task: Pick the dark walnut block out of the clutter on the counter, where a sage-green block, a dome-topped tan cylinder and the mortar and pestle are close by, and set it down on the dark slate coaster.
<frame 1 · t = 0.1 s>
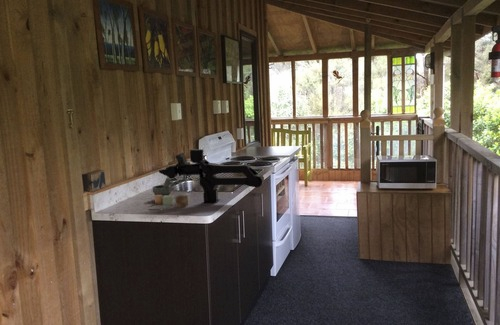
hand: (162, 170, 232), 17 cm above the countertop, tool horizontal, fingers open, 9 cm apart
mortar and pestle: (163, 199, 240), on the countertop
walnut block: (182, 206, 222), on the countertop
sage block: (168, 204, 228), on the countertop
dome-topped tan cylinder: (159, 204, 229), on the countertop
slate coaster: (159, 207, 220), on the countertop
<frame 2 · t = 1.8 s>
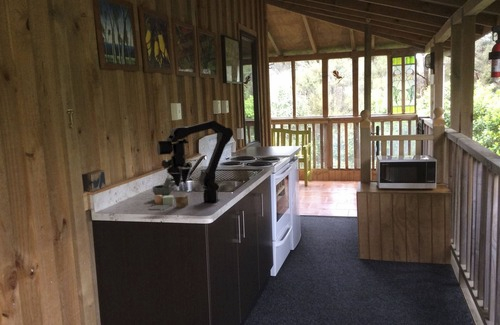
hand: (181, 184, 221), 11 cm above the countertop, tool pointing down, fingers open, 9 cm apart
nothing on the countertop moved.
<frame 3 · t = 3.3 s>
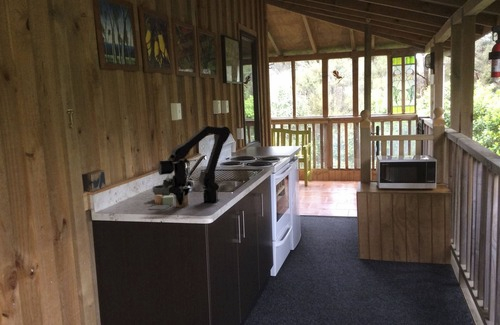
hand: (182, 203, 222), 1 cm above the countertop, tool pointing down, fingers closed on walnut block, 4 cm apart
walnut block: (182, 205, 222), on the countertop, touching gripper
everything else where it was.
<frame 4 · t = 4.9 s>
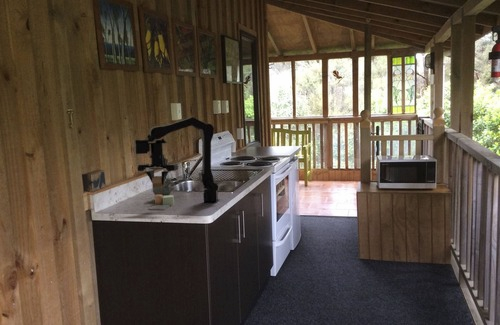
hand: (158, 184, 218), 11 cm above the countertop, tool pointing down, fingers closed on walnut block, 4 cm apart
walnut block: (158, 187, 218), point 10 cm above the countertop, touching gripper
everything else where it was.
when the fingers open (3 cm above the countertop, at t = 6.5 s): walnut block drops 2 cm, resting on slate coaster.
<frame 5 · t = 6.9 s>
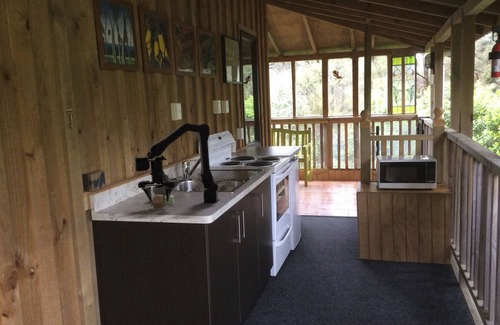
hand: (159, 201, 219), 3 cm above the countertop, tool pointing down, fingers open, 8 cm apart
walnut block: (159, 206, 220), point 1 cm above the countertop, touching slate coaster
everything else where it was.
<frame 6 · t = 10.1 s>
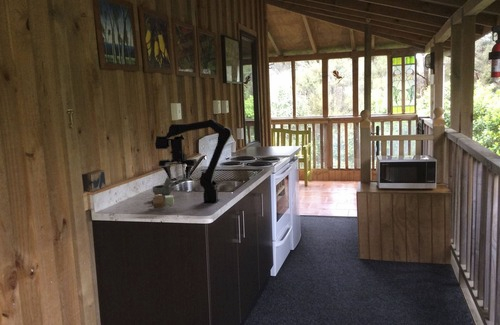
hand: (178, 179, 229), 12 cm above the countertop, tool pointing down, fingers open, 9 cm apart
nothing on the countertop moved.
at the end: walnut block inside the target area on the slate coaster (0.1 cm from its centre), point 0.6 cm above the slate coaster's base; walnut block tilted 0°; the gripper is holding nothing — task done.
